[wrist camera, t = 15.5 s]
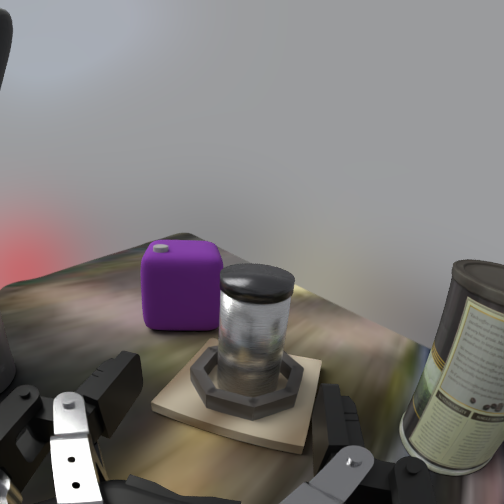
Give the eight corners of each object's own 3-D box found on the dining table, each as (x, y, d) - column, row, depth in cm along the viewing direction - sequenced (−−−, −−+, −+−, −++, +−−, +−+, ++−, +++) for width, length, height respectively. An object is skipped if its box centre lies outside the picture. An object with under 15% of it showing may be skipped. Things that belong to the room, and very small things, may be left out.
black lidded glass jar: (205, 391, 23) (207, 279, 20) (229, 359, 28) (236, 259, 25) (268, 410, 21) (286, 295, 19) (284, 372, 26) (300, 270, 24)
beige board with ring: (152, 410, 21) (148, 388, 20) (210, 345, 32) (211, 325, 32) (301, 454, 18) (307, 433, 17) (320, 368, 29) (324, 347, 28)
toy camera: (207, 291, 48) (209, 228, 45) (236, 332, 36) (241, 251, 33) (139, 294, 44) (137, 229, 41) (145, 340, 31) (141, 254, 29)
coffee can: (380, 408, 22) (427, 254, 19) (461, 392, 23) (507, 261, 20) (426, 494, 12) (530, 310, 9) (512, 452, 13) (589, 300, 10)
